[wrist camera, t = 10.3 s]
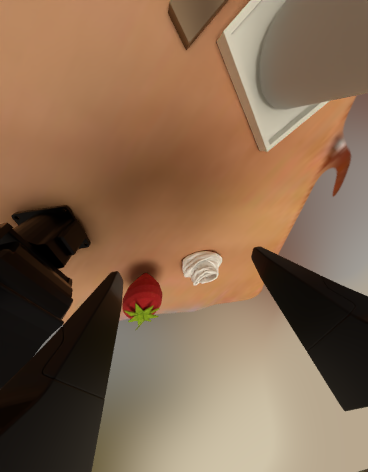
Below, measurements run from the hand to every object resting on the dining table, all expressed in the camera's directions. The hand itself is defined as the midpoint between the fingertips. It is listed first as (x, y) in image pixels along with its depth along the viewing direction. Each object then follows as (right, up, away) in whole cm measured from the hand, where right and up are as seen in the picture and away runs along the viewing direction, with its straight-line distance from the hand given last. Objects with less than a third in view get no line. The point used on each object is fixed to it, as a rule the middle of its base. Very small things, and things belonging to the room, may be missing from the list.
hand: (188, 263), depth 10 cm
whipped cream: (+3, -3, +19) cm, 20 cm away
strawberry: (-8, -5, +18) cm, 21 cm away
